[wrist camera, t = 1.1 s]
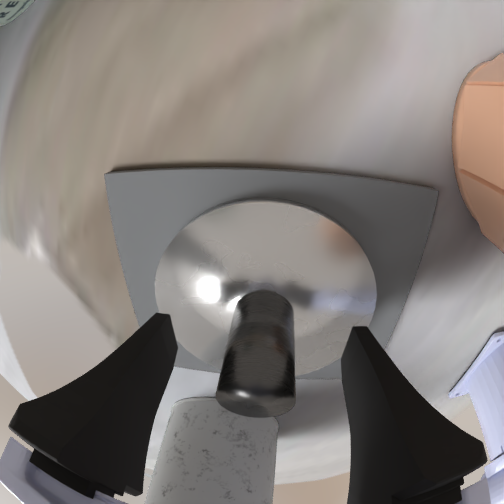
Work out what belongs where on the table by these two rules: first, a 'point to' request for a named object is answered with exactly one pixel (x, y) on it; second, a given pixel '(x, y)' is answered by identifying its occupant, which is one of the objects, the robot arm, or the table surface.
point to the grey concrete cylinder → (214, 457)
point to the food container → (12, 9)
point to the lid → (264, 296)
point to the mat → (278, 186)
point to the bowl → (482, 146)
